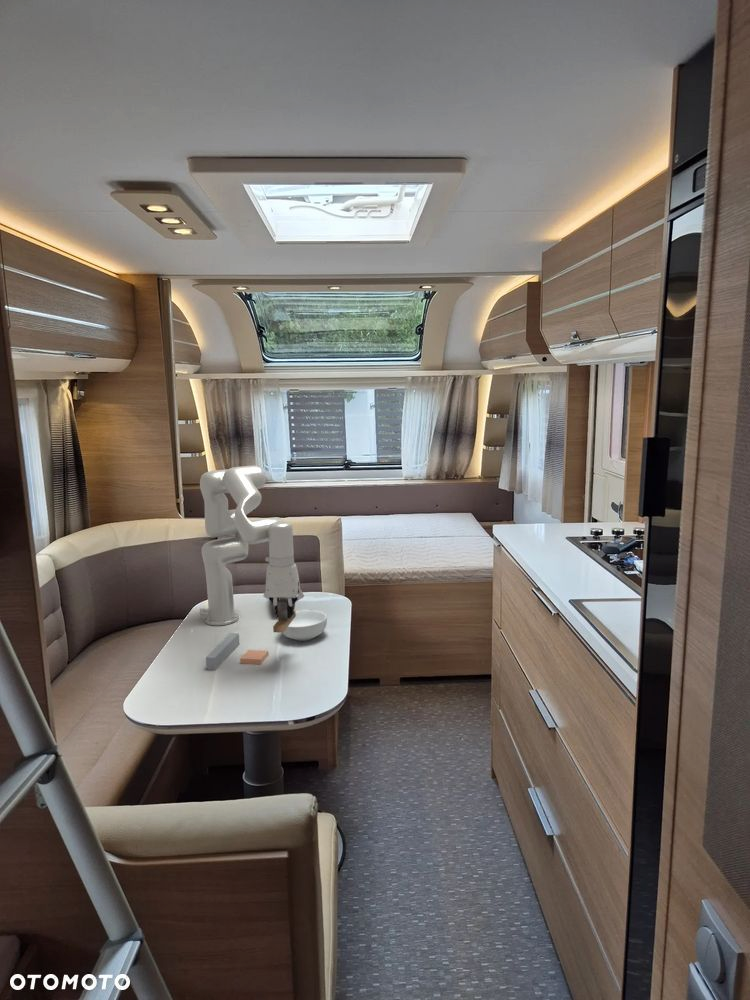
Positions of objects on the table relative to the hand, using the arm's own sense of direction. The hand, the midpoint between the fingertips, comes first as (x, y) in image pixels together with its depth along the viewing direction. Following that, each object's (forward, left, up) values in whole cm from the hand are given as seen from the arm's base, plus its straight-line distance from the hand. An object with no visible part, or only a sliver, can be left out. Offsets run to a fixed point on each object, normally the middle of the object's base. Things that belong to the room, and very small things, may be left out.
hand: (284, 616), depth 192 cm
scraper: (0, 0, -3) cm, 3 cm away
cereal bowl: (0, +20, -15) cm, 25 cm away
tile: (-11, 0, -15) cm, 19 cm away
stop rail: (-22, +1, -15) cm, 26 cm away
